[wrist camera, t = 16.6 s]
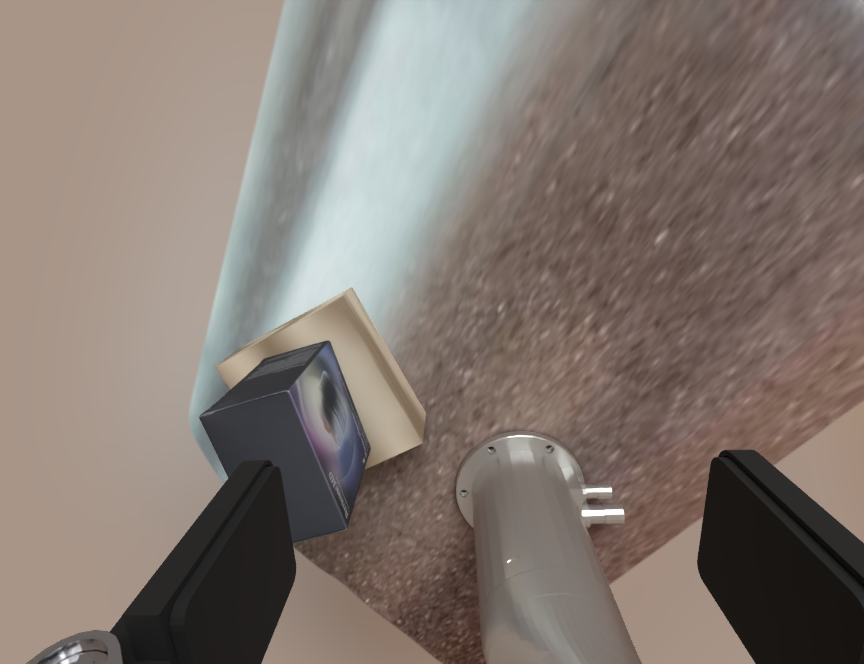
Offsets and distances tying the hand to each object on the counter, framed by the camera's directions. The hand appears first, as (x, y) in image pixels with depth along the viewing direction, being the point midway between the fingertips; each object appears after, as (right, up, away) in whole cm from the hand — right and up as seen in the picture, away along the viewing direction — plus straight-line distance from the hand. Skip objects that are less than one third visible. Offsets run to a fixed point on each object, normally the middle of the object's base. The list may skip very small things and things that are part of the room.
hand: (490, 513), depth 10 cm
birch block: (-10, 0, +35) cm, 36 cm away
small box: (-11, -2, +29) cm, 31 cm away
